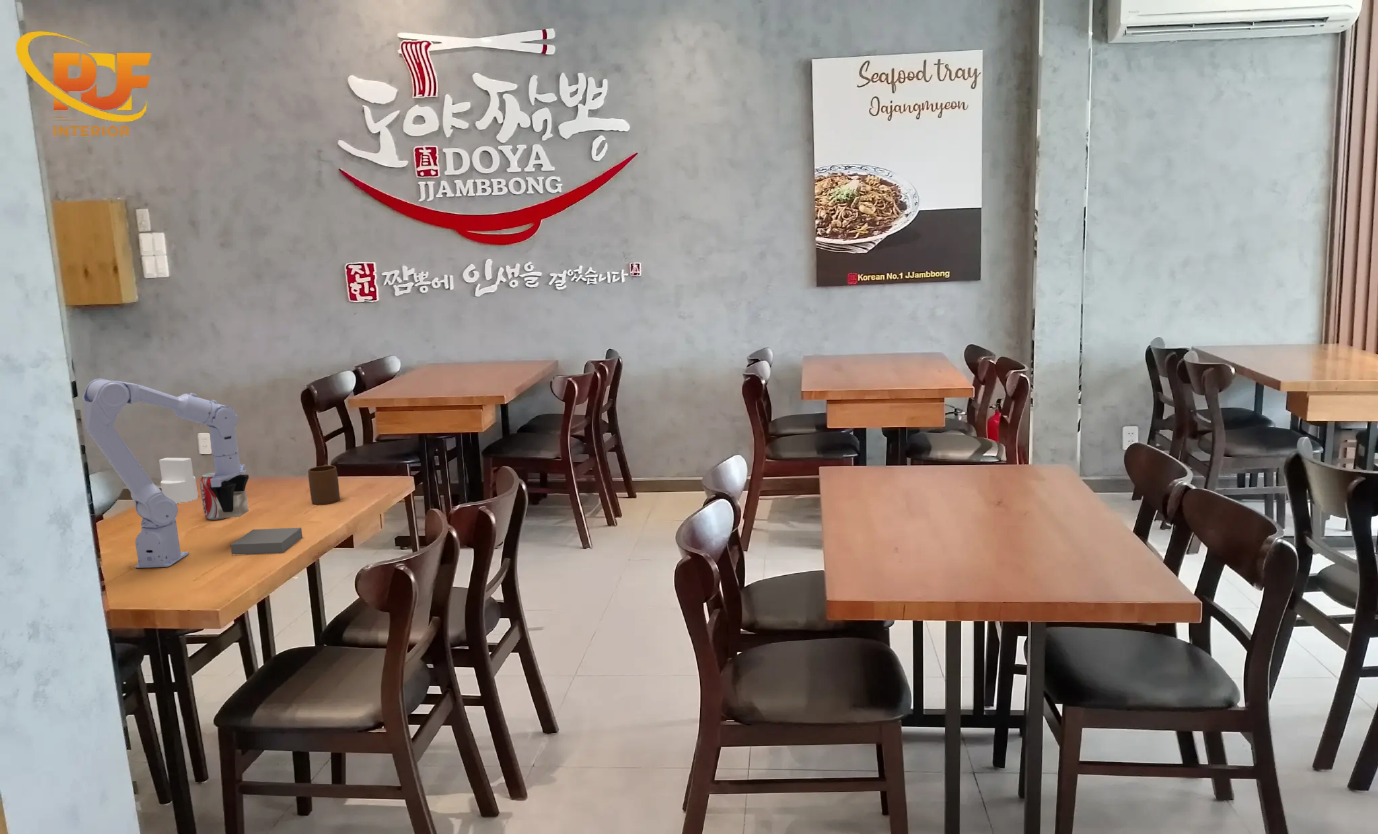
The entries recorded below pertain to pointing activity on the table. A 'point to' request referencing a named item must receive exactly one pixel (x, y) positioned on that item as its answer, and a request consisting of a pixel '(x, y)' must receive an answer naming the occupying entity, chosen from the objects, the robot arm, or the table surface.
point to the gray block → (235, 505)
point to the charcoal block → (266, 541)
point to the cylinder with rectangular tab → (178, 479)
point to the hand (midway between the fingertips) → (233, 508)
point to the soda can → (209, 497)
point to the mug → (323, 484)
